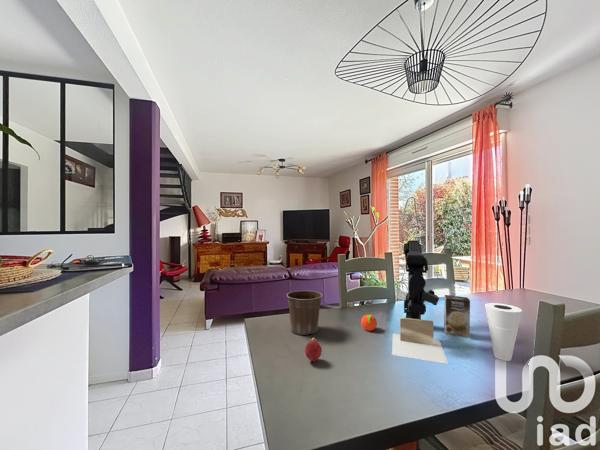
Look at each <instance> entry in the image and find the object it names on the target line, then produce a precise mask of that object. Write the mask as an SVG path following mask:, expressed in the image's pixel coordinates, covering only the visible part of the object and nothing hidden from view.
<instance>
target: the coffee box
mask: <svg viewBox="0 0 600 450" xmlns="http://www.w3.org/2000/svg"><path fill="white" fill-rule="evenodd" d="M443 314H444V316H443V317H444V318H443V319H444V321H443V322H444V324H443V331H444V334H445V335H448V336H449V335H450V336H455V337H462V338H467V339H470V334H471V333H470V332H471V330H470V329H471V326H470V325H471V324H470V323H471V322H470V321H471V319H470V318H471V300H470V298H468V297H467V296H466V297H465V296H460V295H459V296H457V295H451V294H449V295H448V294H444V313H443Z"/></svg>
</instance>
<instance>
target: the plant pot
mask: <svg viewBox="0 0 600 450" xmlns="http://www.w3.org/2000/svg"><path fill="white" fill-rule="evenodd" d="M286 297H287V305H288V308H289V320H290V330H291V332H292V333H294V334H295V335H300V336H309V334H311V335H313V334H316V333H317V332H318V330H319V319H320V308H321V303H322V297H323V293H321V292H318V291H314V290H294V291H290V292H287V293H286Z"/></svg>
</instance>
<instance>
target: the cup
mask: <svg viewBox="0 0 600 450" xmlns="http://www.w3.org/2000/svg"><path fill="white" fill-rule="evenodd" d="M484 308H485V309H484V310H485V315H486V320H487V324H488V329H489V333H490V339H491V344H492V345H491V346H492V349H493V355H494V357H495V358H496V359H498V360H500V361H505V362H510V361H512V359H513V354H514V349H515V343H516V340H517V335H518V330H519V326H520V323H521V322H520V321H521V317H522V314H523V313H522V312H523V310H522V309H521V308H520V307H517V306H515V305H511V304H507V303H501V302H486V303H485V304H484Z"/></svg>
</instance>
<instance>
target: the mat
mask: <svg viewBox="0 0 600 450" xmlns="http://www.w3.org/2000/svg"><path fill="white" fill-rule="evenodd" d="M391 342H392V344H391V345H392V347H391V355H392V356H398V357H402V358H409V359H415V360H422V361H427V362H434V363H438V364H440V363H441V364H446V365H448V364H449V362H448V359H447V357H446V354H445V351H444V348H443V345H442V343H441V340H440V339H437V338H433V345H427V344H420V343H413V342H406V341H400V333H392V341H391Z"/></svg>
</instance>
